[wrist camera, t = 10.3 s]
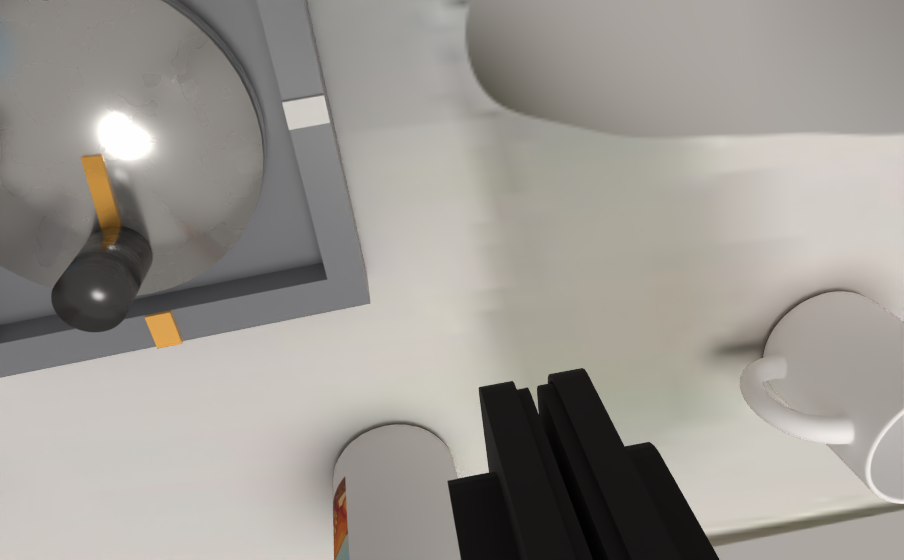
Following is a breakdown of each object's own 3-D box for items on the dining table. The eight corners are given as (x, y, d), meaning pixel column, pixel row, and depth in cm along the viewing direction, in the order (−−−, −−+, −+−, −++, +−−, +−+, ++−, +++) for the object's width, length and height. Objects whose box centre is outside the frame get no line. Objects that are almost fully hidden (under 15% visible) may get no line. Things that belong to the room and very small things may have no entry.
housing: (-249, -79, 26) (-323, -80, 23) (272, -153, 28) (266, -163, 25) (-11, 349, 36) (-42, 388, 33) (366, 275, 37) (370, 305, 34)
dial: (238, -41, 28) (217, -33, 23) (286, 263, 35) (278, 330, 29) (-136, -28, 26) (-262, -15, 21) (-11, 291, 33) (-82, 368, 27)
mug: (694, 403, 46) (785, 520, 37) (718, 294, 42) (826, 395, 33) (854, 387, 48) (979, 496, 39) (891, 282, 44) (1039, 375, 35)
